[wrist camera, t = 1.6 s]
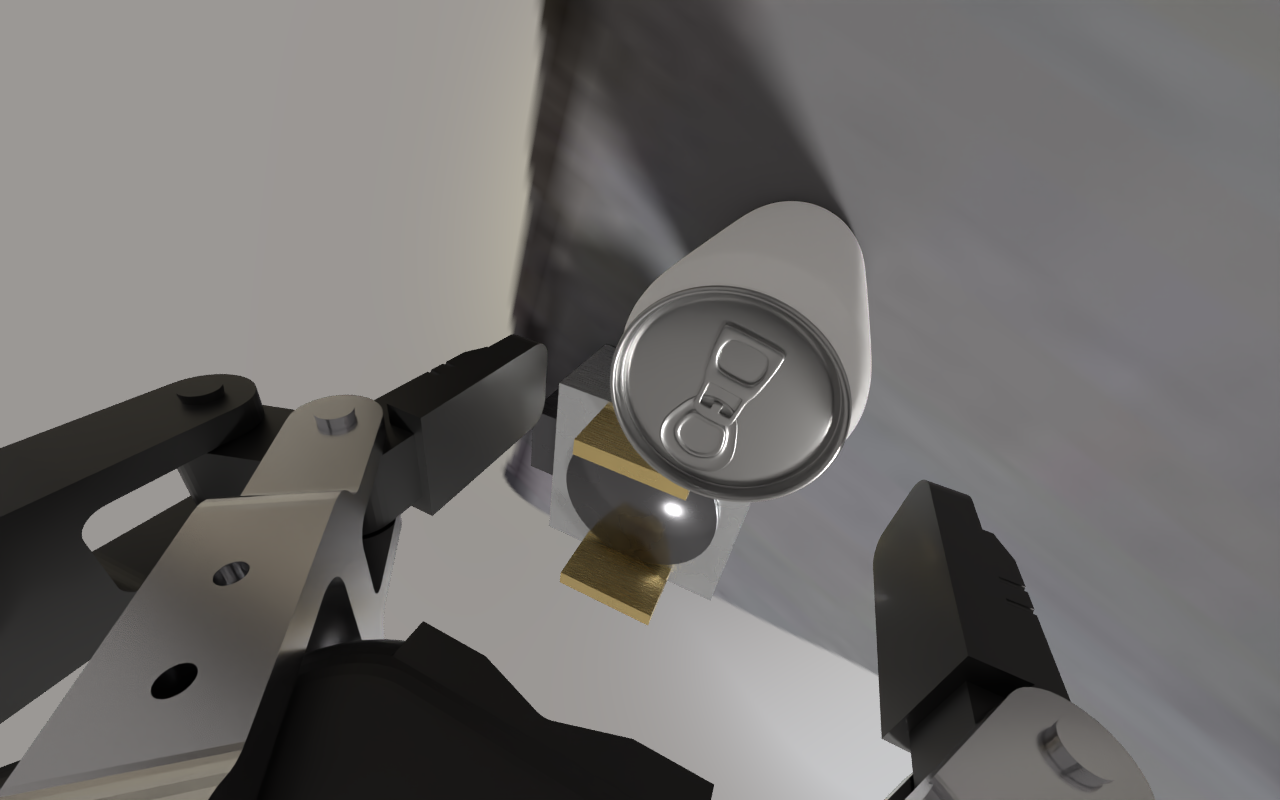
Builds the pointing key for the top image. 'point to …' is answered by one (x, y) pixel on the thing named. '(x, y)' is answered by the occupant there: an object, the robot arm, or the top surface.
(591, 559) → the motor housing
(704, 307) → the can
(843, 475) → the top surface
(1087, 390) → the top surface
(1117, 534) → the top surface
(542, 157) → the top surface
